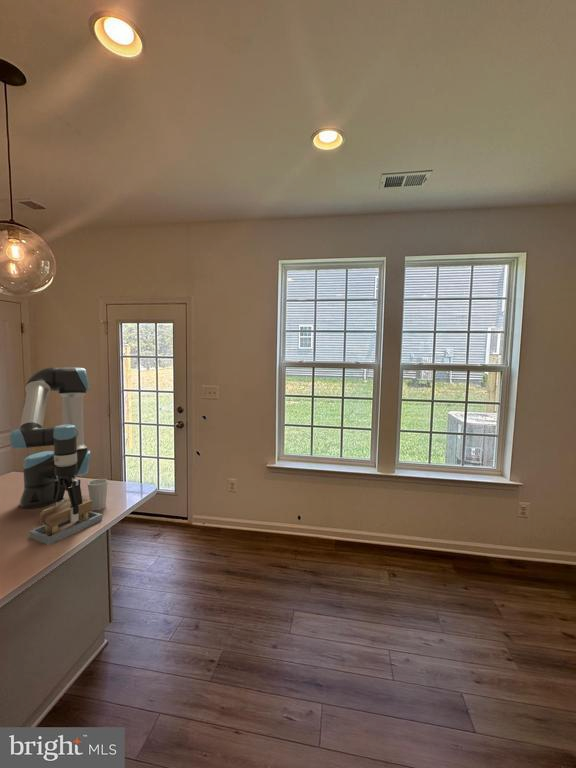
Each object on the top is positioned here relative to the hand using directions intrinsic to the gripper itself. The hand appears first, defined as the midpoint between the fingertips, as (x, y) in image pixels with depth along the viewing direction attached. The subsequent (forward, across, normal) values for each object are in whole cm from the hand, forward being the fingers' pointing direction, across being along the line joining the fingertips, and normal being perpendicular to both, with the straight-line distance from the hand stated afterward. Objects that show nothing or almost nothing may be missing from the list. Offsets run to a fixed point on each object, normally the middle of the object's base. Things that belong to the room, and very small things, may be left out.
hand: (67, 519), depth 130 cm
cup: (+4, -7, +18) cm, 20 cm away
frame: (+4, 0, 0) cm, 4 cm away
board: (-1, 0, 0) cm, 1 cm away
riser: (+4, -15, +6) cm, 17 cm away
